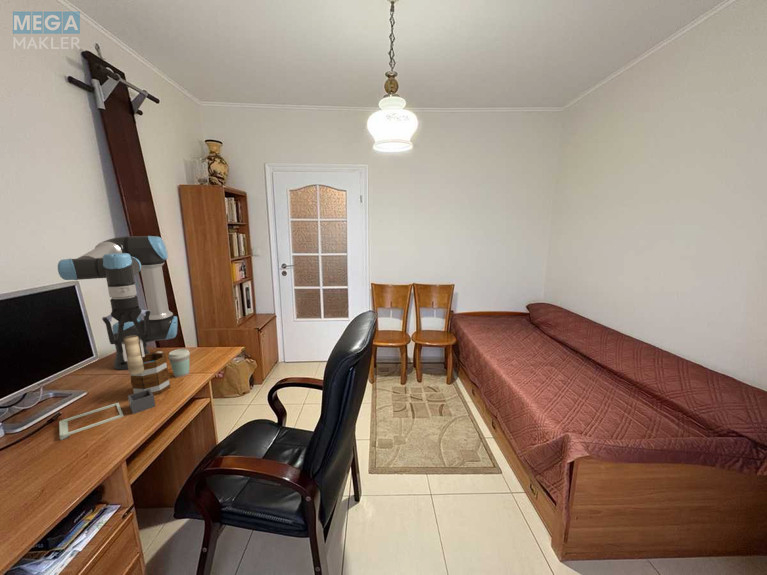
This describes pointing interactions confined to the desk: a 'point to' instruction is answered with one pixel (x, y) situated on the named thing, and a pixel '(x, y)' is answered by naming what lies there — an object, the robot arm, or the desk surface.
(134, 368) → the dowel
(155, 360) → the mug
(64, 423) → the tray
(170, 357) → the coffee cup
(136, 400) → the pen cup
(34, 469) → the desk surface
